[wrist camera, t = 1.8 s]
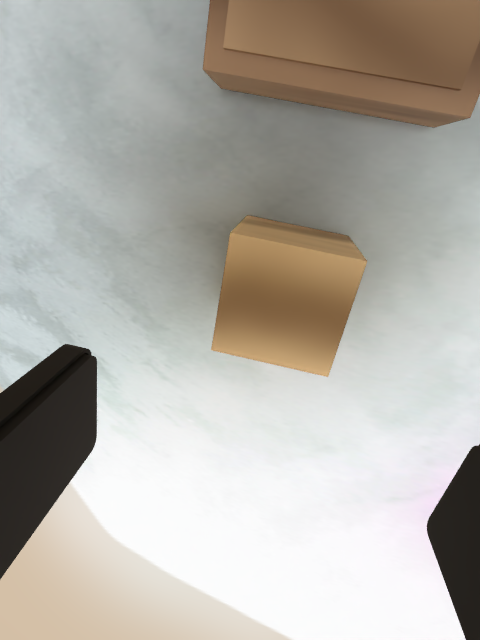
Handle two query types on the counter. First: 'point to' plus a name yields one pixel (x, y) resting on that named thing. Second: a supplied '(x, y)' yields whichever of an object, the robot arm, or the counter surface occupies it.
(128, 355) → the counter surface
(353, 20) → the copper tray
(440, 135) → the counter surface
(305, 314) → the oak cube
